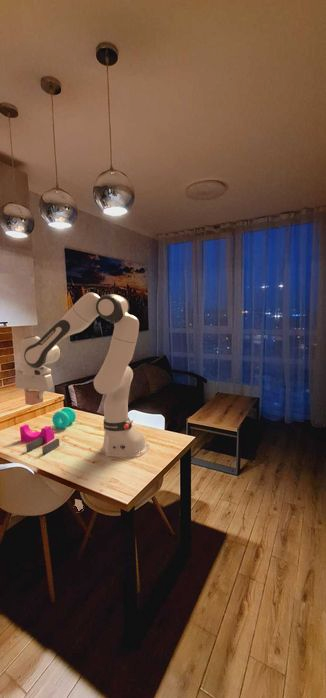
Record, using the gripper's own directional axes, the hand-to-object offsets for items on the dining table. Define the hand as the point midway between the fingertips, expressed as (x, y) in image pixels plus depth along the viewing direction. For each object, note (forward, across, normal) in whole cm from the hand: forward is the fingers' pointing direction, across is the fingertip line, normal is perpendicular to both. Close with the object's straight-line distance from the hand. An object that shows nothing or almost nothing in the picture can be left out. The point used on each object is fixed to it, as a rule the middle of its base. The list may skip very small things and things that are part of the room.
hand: (34, 397), depth 143 cm
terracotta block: (+2, 0, 0) cm, 2 cm away
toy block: (+24, -3, +4) cm, 24 cm away
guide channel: (+23, +7, -4) cm, 24 cm away
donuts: (+23, -2, +23) cm, 33 cm away
